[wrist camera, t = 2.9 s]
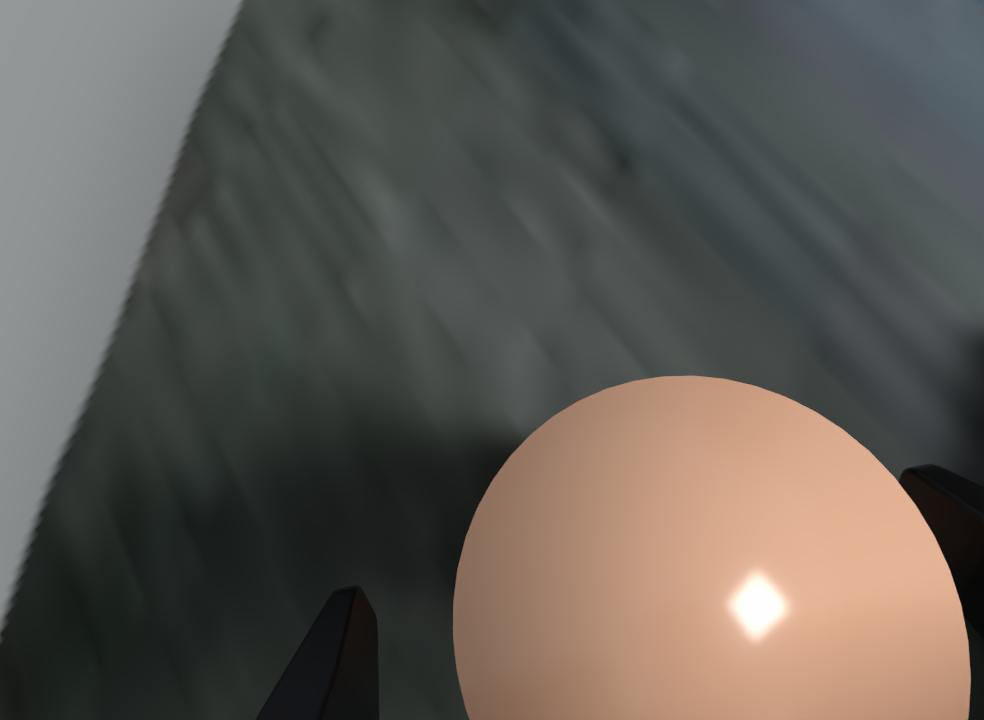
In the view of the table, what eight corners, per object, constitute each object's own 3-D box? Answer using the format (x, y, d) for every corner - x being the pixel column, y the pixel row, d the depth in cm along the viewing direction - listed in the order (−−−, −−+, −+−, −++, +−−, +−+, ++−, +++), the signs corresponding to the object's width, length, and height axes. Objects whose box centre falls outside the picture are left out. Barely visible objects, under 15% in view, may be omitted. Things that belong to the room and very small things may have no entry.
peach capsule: (645, 641, 15) (927, 1029, 4) (481, 581, 16) (382, 794, 5) (686, 472, 16) (1000, 457, 5) (530, 423, 17) (535, 321, 6)
